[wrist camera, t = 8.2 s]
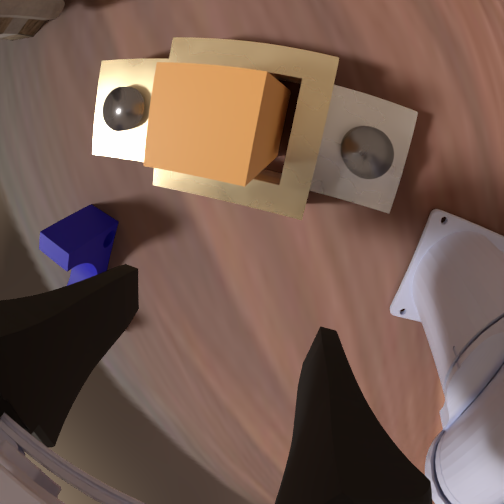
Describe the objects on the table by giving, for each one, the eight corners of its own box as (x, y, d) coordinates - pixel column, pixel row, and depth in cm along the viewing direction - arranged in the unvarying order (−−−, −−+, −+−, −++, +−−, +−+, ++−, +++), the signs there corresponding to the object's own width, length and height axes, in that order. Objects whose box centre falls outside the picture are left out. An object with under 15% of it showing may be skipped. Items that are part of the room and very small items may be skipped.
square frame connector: (414, 92, 14) (436, 88, 10) (378, 224, 18) (389, 249, 14) (132, 47, 16) (99, 40, 12) (118, 163, 20) (85, 175, 16)
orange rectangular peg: (290, 91, 15) (266, 71, 8) (277, 156, 17) (244, 186, 10) (224, 80, 16) (156, 62, 9) (213, 143, 18) (143, 166, 11)
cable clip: (109, 325, 28) (76, 364, 22) (76, 302, 27) (41, 335, 22) (134, 230, 22) (85, 266, 17) (92, 203, 22) (40, 231, 16)
